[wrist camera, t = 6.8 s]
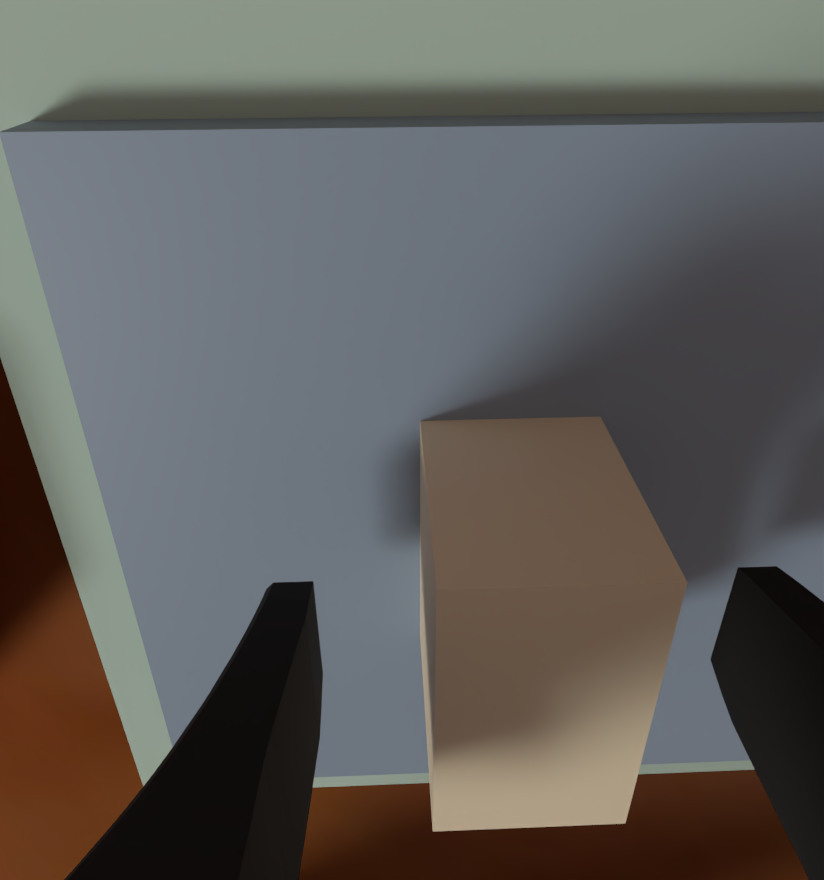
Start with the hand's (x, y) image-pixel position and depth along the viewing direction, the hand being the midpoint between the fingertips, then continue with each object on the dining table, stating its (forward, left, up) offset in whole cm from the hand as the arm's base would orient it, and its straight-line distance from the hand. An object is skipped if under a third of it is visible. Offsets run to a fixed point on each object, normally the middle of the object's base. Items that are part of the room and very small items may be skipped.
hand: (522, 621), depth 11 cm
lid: (0, 0, -3) cm, 3 cm away
